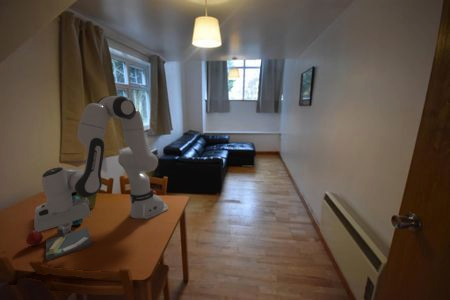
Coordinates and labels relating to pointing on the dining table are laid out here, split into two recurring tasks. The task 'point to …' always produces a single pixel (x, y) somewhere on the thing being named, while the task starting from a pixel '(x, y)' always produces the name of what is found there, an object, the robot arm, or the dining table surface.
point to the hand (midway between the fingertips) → (67, 231)
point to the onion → (34, 238)
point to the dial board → (69, 243)
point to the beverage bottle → (73, 200)
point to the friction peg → (58, 240)
